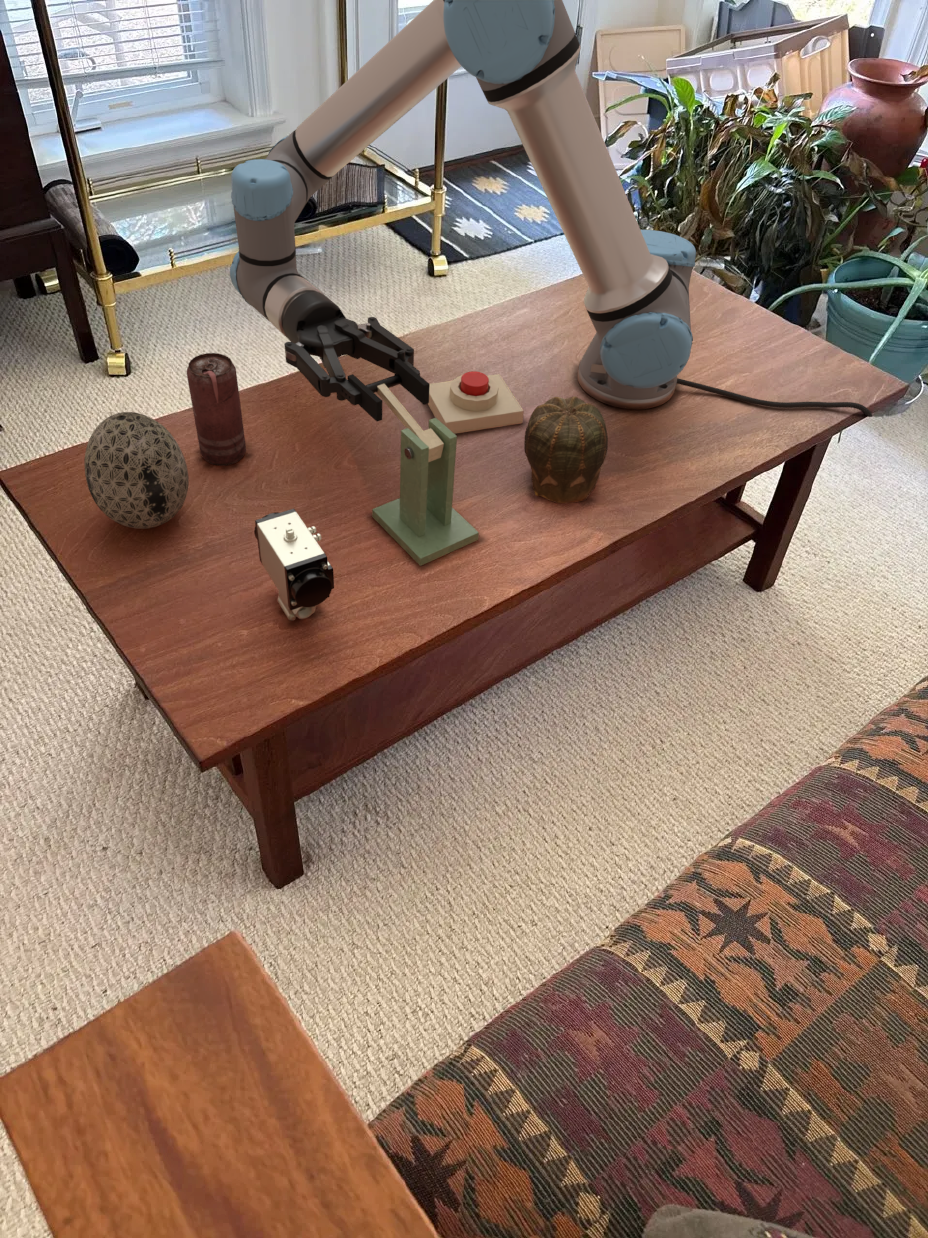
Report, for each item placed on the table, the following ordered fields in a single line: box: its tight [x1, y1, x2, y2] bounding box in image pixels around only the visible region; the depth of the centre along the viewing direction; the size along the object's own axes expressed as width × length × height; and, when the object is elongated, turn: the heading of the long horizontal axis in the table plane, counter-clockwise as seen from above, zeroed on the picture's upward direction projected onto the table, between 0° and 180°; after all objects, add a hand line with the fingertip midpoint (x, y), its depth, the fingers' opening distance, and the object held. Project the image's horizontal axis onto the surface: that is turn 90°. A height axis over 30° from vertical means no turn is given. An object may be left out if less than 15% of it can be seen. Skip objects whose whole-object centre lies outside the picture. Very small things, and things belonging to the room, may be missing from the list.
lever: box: [364, 374, 444, 462], centre depth 114 cm, size 13×6×2 cm, turn 36°
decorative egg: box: [84, 411, 190, 530], centre depth 114 cm, size 12×12×15 cm
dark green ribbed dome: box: [523, 395, 609, 504], centre depth 126 cm, size 11×11×12 cm
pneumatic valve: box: [253, 508, 335, 621], centre depth 107 cm, size 6×12×12 cm, turn 30°
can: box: [186, 352, 247, 467], centre depth 125 cm, size 6×6×14 cm
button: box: [461, 370, 489, 396], centre depth 137 cm, size 4×4×2 cm
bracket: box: [371, 417, 480, 567], centre depth 116 cm, size 11×9×15 cm
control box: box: [427, 373, 525, 435], centre depth 139 cm, size 12×10×4 cm
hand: (403, 402), depth 113 cm, fingers closed on lever, 6 cm apart
